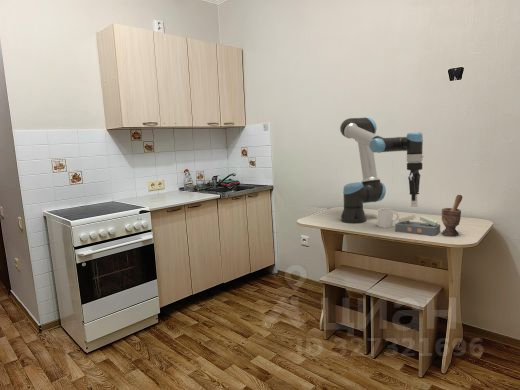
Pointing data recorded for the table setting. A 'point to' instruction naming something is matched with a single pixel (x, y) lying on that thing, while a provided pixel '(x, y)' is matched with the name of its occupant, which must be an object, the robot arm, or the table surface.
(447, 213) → the mortar and pestle
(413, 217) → the rocker
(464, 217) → the table surface
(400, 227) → the switch unit
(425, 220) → the rocker
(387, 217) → the mug
